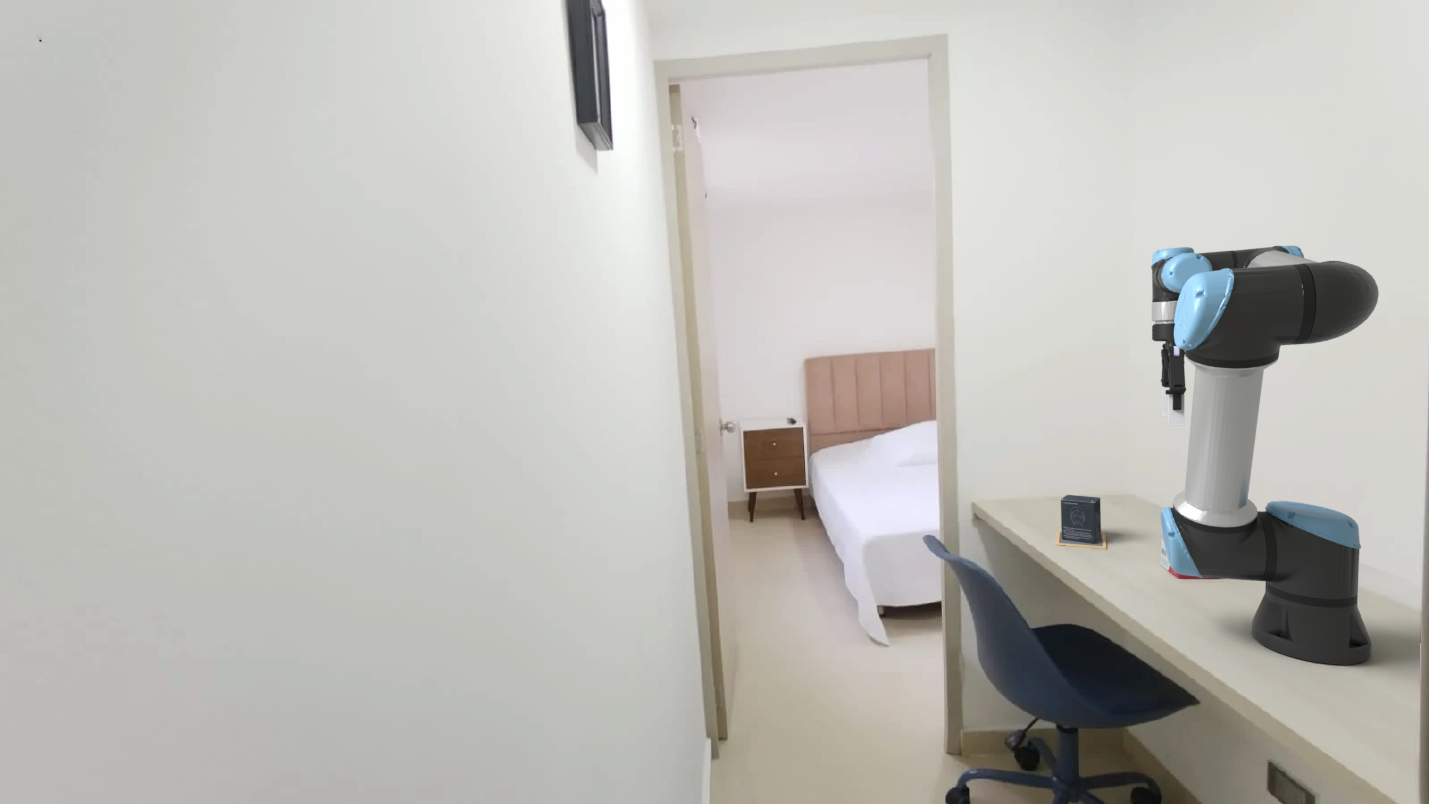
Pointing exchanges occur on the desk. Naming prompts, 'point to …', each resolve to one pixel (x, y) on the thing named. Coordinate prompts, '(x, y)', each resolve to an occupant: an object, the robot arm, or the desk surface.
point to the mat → (1100, 544)
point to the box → (1081, 518)
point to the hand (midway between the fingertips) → (1172, 420)
